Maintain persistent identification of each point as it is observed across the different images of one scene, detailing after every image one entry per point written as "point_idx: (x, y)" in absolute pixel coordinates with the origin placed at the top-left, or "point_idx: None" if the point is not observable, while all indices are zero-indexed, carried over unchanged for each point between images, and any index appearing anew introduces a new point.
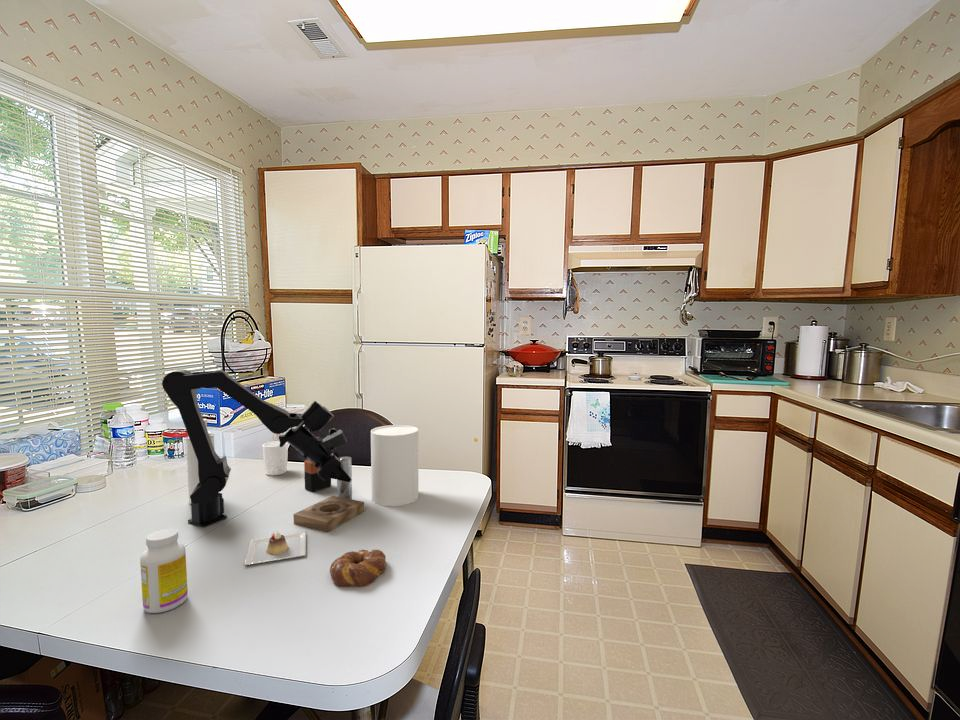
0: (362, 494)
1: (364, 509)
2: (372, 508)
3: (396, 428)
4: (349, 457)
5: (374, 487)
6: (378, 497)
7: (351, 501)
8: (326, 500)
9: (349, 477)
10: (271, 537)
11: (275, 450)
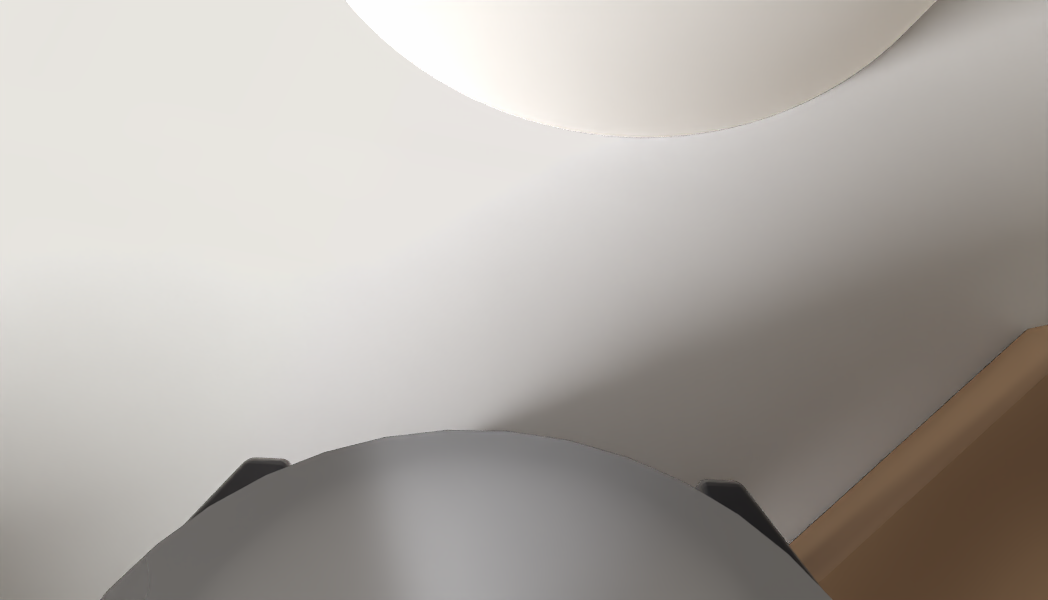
0: (287, 225)
1: (1043, 326)
2: (959, 196)
3: None
4: (344, 535)
5: (845, 10)
6: (893, 33)
7: (1003, 526)
8: None
9: (785, 548)
10: None
11: None
